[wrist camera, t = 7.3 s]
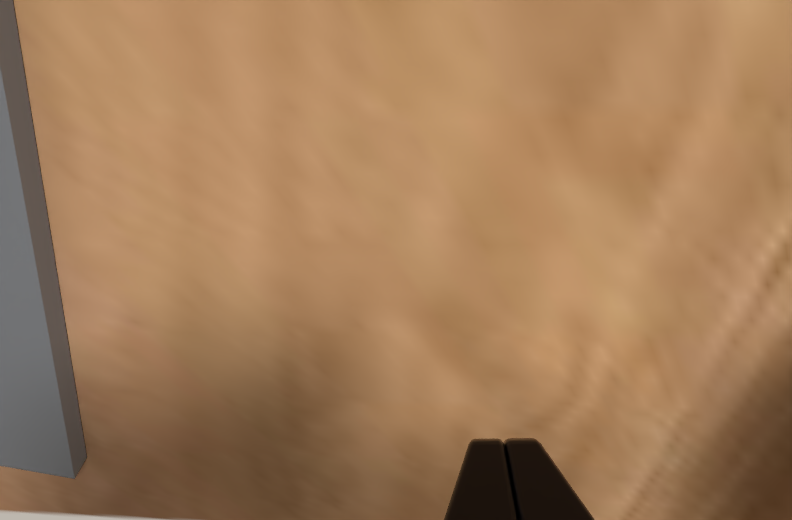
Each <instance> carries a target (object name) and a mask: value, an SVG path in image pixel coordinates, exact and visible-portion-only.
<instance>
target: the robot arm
mask: <svg viewBox="0 0 792 520" xmlns="http://www.w3.org/2000/svg"><path fill="white" fill-rule="evenodd" d="M444 520H594V518H593V517H592V515H591V514H590V513H589V511H588V510H587V508H586V507H585V506H584V504H583V503H582V501H581V500H580V499H579V497H578V496H577V494H576V493H575V491H574V490H573V489H572V487H571V486H570V484H569V483H568V482H567V480H566V479H565V477H564V476H563V475H562V473H561V472H560V470H559V469H558V468H557V466H556V465H555V463H554V462H553V460H552V459H551V458H550V456H549V455H548V453H547V452H546V451H545V449H544V448H543V446H542V445H541V444H540V443H539V442H538V441H537V440H536V439H532V438H512V439H507V440H505V442H504V444H503V442H502V441H501V440H500V439H473V440H472V441H471V442H470V443H469V446H468V449H467V452H466V455H465V458H464V461H463V464H462V467H461V470H460V473H459V476H458V479H457V482H456V485H455V488H454V491H453V494H452V497H451V500H450V503H449V506H448V509H447V512H446V515H445V518H444Z"/></svg>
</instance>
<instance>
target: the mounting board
mask: <svg viewBox="0 0 792 520" xmlns="http://www.w3.org/2000/svg"><path fill="white" fill-rule="evenodd" d="M86 458H87V455H86V449H85V443H84V437H83V431H82V424H81V418H80V412H79V406H78V400H77V394H76V387H75V381H74V375H73V369H72V363H71V356H70V350H69V344H68V338H67V332H66V326H65V319H64V313H63V307H62V301H61V295H60V288H59V282H58V276H57V270H56V264H55V258H54V251H53V245H52V239H51V233H50V227H49V221H48V214H47V208H46V202H45V196H44V190H43V183H42V177H41V171H40V165H39V159H38V153H37V146H36V140H35V134H34V128H33V122H32V115H31V109H30V103H29V97H28V91H27V85H26V78H25V72H24V66H23V60H22V54H21V48H20V41H19V35H18V29H17V23H16V17H15V10H14V4H13V0H0V466H5V467H11V468H16V469H22V470H28V471H33V472H39V473H45V474H50V475H56V476H62V477H67V478H73V479H75V477H76V476H77V474H78V472H79V470H80V469H81V467H82V465H83V463H84V462H85V460H86Z"/></svg>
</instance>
